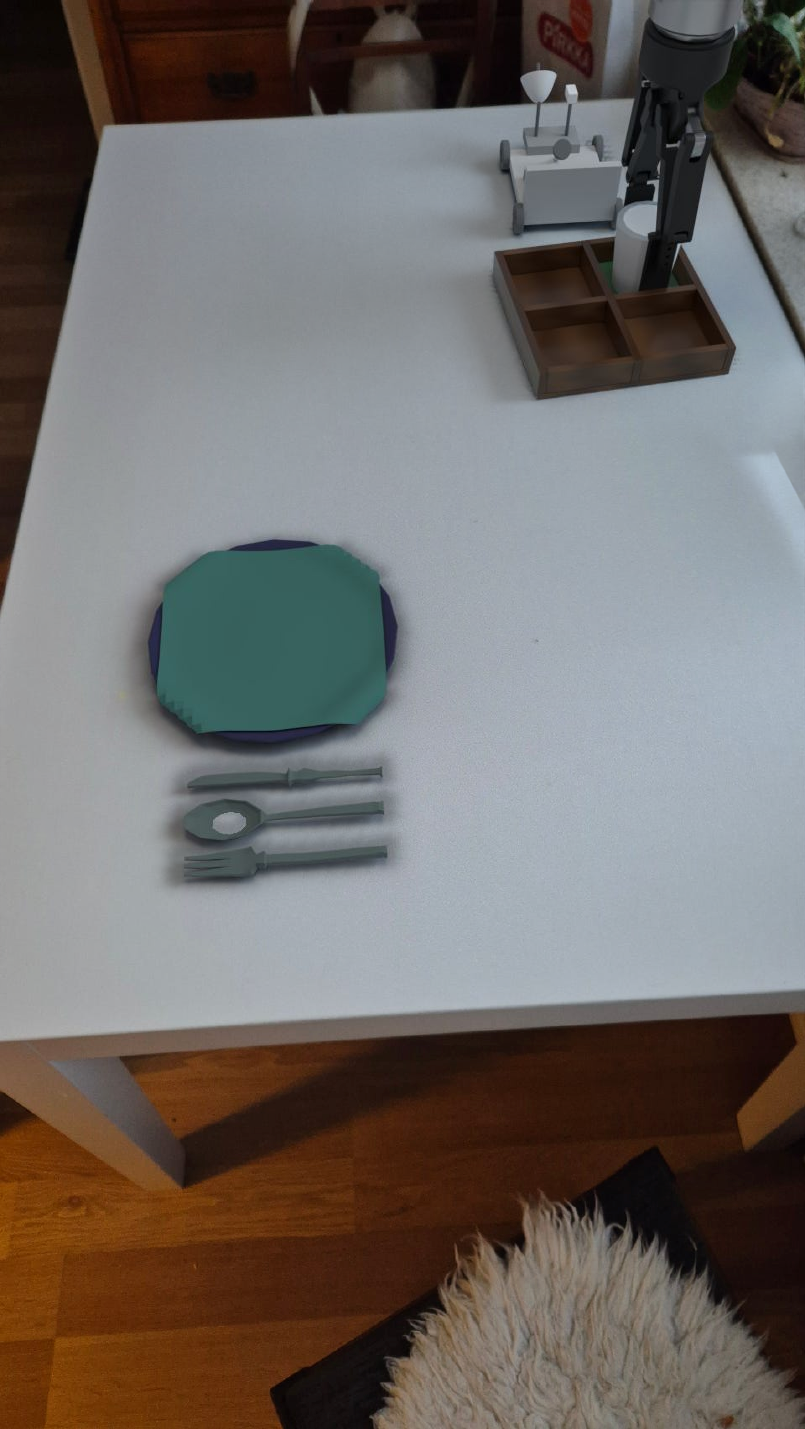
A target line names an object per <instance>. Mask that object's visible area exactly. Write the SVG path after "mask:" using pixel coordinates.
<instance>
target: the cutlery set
mask: <svg viewBox="0 0 805 1429" xmlns="http://www.w3.org/2000/svg"><path fill="white" fill-rule="evenodd" d="M398 629H399V625H398V622H397V619H396V614H395V611H394V607H393V603H392V600H391V596H390V594H388V592H387V591H386V589H385V588H384V587H383V586H382V584H381V582H380V574H379V572H378V571H377V570H375V569H373V568H371V567H370V565H369V564H366V563H365V562H362V560H361V558H358V557H356V556H354V555H352V553H351V552H349V551H347V550H344V548H343V547H341V546H339V545H336V544H318V543H316V542H313V541H310V540H307V541H306V540H293V539H292V540H291V539H275V538H273V539H267V540H262V541H255V542H251V543H244V544H239V545H236V546H233V547H230V548H229V549H226V550H225V549H224V550H211V551H208V552H205V554H202V555H201V556H200V557H198V558H197V559H195V561H193V562H192V563H191V564H189V565H188V566H187V567H186V568H184V569H183V570H182V571H180V572H179V573H178V574H177V575H176V576H174V577H172V579H171V580H169V582H167V583H166V584H165V586H164V588H163V593H162V602H161V603H160V605H159V606H158V608H157V609H156V611H155V615H154V618H153V621H152V626H151V629H150V633H149V636H148V639H147V640H148V641H147V646H148V656H149V664H150V673H151V676H152V677H153V679H154V681H155V682H156V697H157V699H158V700H159V703H160V704H161V706H163V707H165V709H168V710H169V712H170V713H172V714H174V715H176V716H177V717H178V719H179V720H180V721H182V722H184V723H186V725H187V727H188V728H189V729H191V730H193V731H194V733H195V734H204V733H213V734H215V735H218V736H220V737H223V738H225V739H228V740H231V741H238V742H252V743H266V744H276V743H281V742H286V741H291V740H296V739H301V738H306V737H311V736H315V735H317V734H319V733H322V732H323V731H325V730H327V729H329V728H331V727H333V726H335V725H337V724H343V725H359V724H361V723H362V721H364V719H365V718H366V717H367V716H368V714H370V713H371V712H372V711H373V710H374V709H375V708H377V707H378V706H379V705H380V704H381V703H382V702H383V700H384V699H385V695H386V692H387V673H389V672H388V671H389V670H390V668H391V666H392V664H393V662H394V660H395V655H396V654H395V653H396V646H397V637H398ZM357 776H359V777H360V776H361V777H362V776H363V777H364V776H365V777H366V776H380V778H382V779H383V765H381V766H379V767H375V768H363V769H353V770H343V769H342V770H337V769H333V770H332V769H331V770H316V769H313V768H309V767H303V768H301V769H298V770H292V769H291V768H290V767H288V768H287V771H286V773H284V772H283V773H282V772H268V771H267V772H266V771H248V772H247V771H246V772H231V773H230V772H227V773H218V774H206V775H201V776H198V777H195V778H194V779H192V780H190V781H188V782H187V783H186V787H187V789H199V788H213V787H226V786H227V787H229V786H245V785H258V784H259V785H260V784H274V783H275V784H276V783H287V785H288V786H289V788H290V787H292V785H293V784H296V783H302V784H303V785H307V784H310V783H313V782H316V781H317V780H321V779H336V778H343V777H357ZM228 812H234V813H240V814H241V815H242V816H243V817H245V818H246V826H245V827H244V828H243V829H242V830H241V831H239V832H237V833H233V834H230V835H229V834H222V833H219V832H218V831H216V830H215V829H213V828H212V827H213V820H214V819H215V818H216V817H218V816H219V815H221V814H224V813H228ZM376 815H382V816H383V815H384V816H385V806H384V800H380V801H368V802H359V803H358V802H357V803H350V804H341V805H340V804H339V805H330V806H319V807H313V808H307V809H299V810H298V809H297V810H291V811H283V812H276V813H270V814H269V813H268V814H267V813H266V812H265V811H263V809H261V808H259V807H258V806H256V805H254V804H253V803H251V802H249V801H248V800H243V799H233V798H221V799H220V798H219V799H217V800H212V801H209V802H208V801H207V802H203V803H201V804H199V805H197V806H196V807H194V808H193V809H192V810H190V811H189V812H187V813H186V814H184V818H183V829H185V830H186V831H188V832H189V833H191V834H192V835H194V836H196V837H198V838H200V839H207V840H217V841H231V840H233V839H239V838H241V837H245V836H247V835H248V834H250V833H251V832H253V830H255V829H256V828H257V827H258V826H259V827H260V825H261V824H264V823H266V822H272V821H273V822H274V821H283V820H297V819H298V820H299V819H300V820H301V819H309V818H310V819H312V818H320V817H321V818H324V817H326V818H327V817H344V816H346V817H347V816H376ZM368 859H369V860H370V859H388V845H387V844H384V845H373V846H372V845H371V846H360V847H359V846H358V847H350V848H342V849H332V850H321V851H308V852H282V853H267V852H266V851H265V850H262V851H260V852H258V853H256V852H255V850H254V848H253V847H252V845H251V846H248V847H243V848H236V849H231V850H225V851H219V852H213V853H208V854H199V855H189V856H184V857H183V860H184V861H187V862H198V863H187V864H183V869H187V870H188V869H191V870H197V871H185V872H183V874H182V875H183V877H187V878H188V877H189V878H190V877H191V878H192V877H193V878H203V877H204V878H205V877H231V878H232V877H234V878H243V877H244V878H245V877H253V876H254V875H255V874H256V872H257V871H258V870H266V869H267V868H268V866H275V865H309V864H324V863H334V862H346V861H354V860H368ZM258 868H259V869H258ZM257 869H258V870H257Z"/></svg>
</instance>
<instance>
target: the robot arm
mask: <svg viewBox="0 0 805 1429" xmlns="http://www.w3.org/2000/svg"><path fill="white" fill-rule="evenodd" d="M744 1H745V0H648V4H647V5H648V6H647V14H648V16H649V17H648V18H647V19H646V20H645V22H644V26H643V32H642V38H641V44H640V50H639V55H638V68H637V78H636V79H637V80H636V81H637V82H636V90H635V94H634V99H633V104H632V108H631V113H630V117H629V122H628V127H627V131H626V136H625V140H624V145H623V149H622V153H621V158H620V161H621V164H622V168H627V169H626V171H625V182H626V184H628V186H626V189H625V195H624V199H623V200H624V201H623V208H624V207H625V206H627V205H629V204H632V203H634V202H641V201H654V199H655V198H654V197H655V191H656V186H655V184H654V183H648V182H651V181H658V188H657V201H656V202H657V216H656V230H655V232H650V233H648V240H649V241H648V246H647V251H646V256H645V261H644V266H643V271H642V275H641V280H640V285H639V290H638V291H645V290H653V289H661V288H668V284H669V280H670V275H671V271H672V267H673V262H674V258H675V254H676V250H677V245H678V244H680V243H681V244H688V243H691V242H692V241H693V236H694V231H695V226H696V221H697V215H698V211H699V205H700V200H701V195H702V191H703V190H702V189H703V185H704V179H705V173H706V168H707V164H708V159H709V156H710V154H711V151H712V148H713V145H714V143H715V132H714V130H712V129H711V130H709V129H708V130H704V129H703V127H702V123H701V122H702V120H703V118H704V108H705V104H704V101H705V94H706V92H708V90H709V89H710V88H712V87H713V86H714V85H716V84H718V83H719V82H720V81H721V80H722V79H723V78H724V77H725V75H726V73H727V70H728V66H729V62H730V58H731V53H732V49H733V45H734V42H735V41H734V40H735V36H736V33H737V32H736V27H735V25H736V24H738V23H739V21H740V17H741V13H742V10H743V6H744ZM667 145H671V146H669V147H667ZM672 145H677V146H672ZM658 167H659V170H658Z"/></svg>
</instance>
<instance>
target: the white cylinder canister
mask: <svg viewBox="0 0 805 1429" xmlns="http://www.w3.org/2000/svg"><path fill="white" fill-rule="evenodd" d="M657 202H658V201H655V200H653V201H641V202H634V203H632V204H629V205H627V206H625V207H624V208H623V209H622V210H621V211H620V212H619V213H618V216H617V222H616V228H615V234H614V236H615V246H614V258H613V270H612V282H611V284H612V286H613V288H614V290H615V291H616V292H617V293H619V294H621V293H629V292H637V291H638V290H639V285H640V280H641V275H642V271H643V266H644V261H645V256H646V251H647V246H648V241H649V240H648V233H650V232H655V230H656V216H657ZM680 245H682V243H680V244H678V245H677V250H676V254H675V258H674V262H673V266H674V263H675V260H676V257H677V254H678V251H679V248H680ZM672 268H673V267H672Z"/></svg>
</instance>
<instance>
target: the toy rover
mask: <svg viewBox="0 0 805 1429" xmlns="http://www.w3.org/2000/svg"><path fill="white" fill-rule="evenodd" d="M535 66H536V68H535V69H536V70H533V71H530V72H527V73H525V74H523V75H522V76H521V77H520V79H519V80H520V83H521V85H522V88H523V89H524V91H525V93H526V94H527V96H528V98H529V99H530V101H532V103H534V104H535V105H536V111H535V112H536V113H535V123H534V127H533V126H532V127H523V129H522V140H523V143H524V148H518V149H511V143H510V140H509V139H502V140H501V141H500V144H499V167H500V170H501V171H506V170H507V171H508V170H509V171H510V176H511V180H512V185H513V190H514V194H515V199H516V202H515V203H514V204H513V207H512V230H513V234H515V235H517V234H522V233H523V232H524V227H525V226H530V225H533V226H534V225H548V224H549V225H550V224H569V223H589V222H606V221H607V222H608V221H609V226H610V228H611V229H616V222H617V216H618V213H619V212H620V211H621V210H622V209H623V206H624V201H623V199H622V198H621V197H618V193H619V187H620V181H621V175H622V169H623V166H622V164H621V160H609V161H608V160H607V161H606V160H605V161H603V159H604V150H605V149H604V148H605V145H604V137H603V135H602V134H595V135H593V137H592V140H591V145H581V142H580V138H579V134H578V131H577V128H576V125H575V124H573V125H570V124H571V115H572V110H573V109H572V107H573V104H574V105H575V104H578V97H579V93H578V89H577V86H576V84H571V83H568V84H566V85H565V91H564V96H565V99H566V103H567V104H568V105H567V113H566V114H567V115H566V122H565V125H554V126H553V125H551V126H539V125H540V117H541V116H540V115H541V108H542V107H541V106H542V103H544V102H545V101H546V100H547V99H548V97H549V95H550V93H551V92H552V89H553V87H554V85H555V82H556V79H557V73H556V72H554V71H552V70H545V69H544V70H542V69H541V62H536V63H535Z"/></svg>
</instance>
